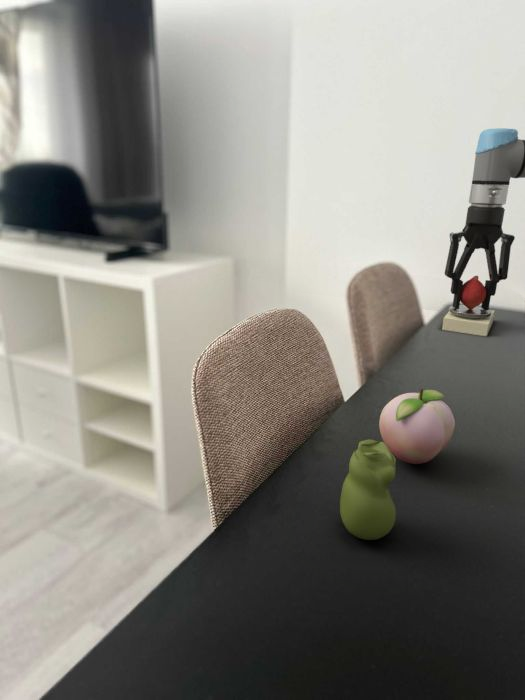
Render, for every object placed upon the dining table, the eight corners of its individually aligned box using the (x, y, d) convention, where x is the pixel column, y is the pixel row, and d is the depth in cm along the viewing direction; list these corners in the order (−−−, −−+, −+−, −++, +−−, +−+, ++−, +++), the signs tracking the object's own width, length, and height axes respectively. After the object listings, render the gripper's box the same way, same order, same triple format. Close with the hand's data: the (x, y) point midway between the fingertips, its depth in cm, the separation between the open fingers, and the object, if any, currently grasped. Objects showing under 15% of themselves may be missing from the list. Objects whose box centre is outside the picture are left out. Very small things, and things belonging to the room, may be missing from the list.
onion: (458, 311, 118) (463, 276, 115) (455, 305, 123) (460, 272, 120) (485, 313, 116) (491, 278, 114) (481, 307, 122) (486, 274, 119)
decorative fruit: (396, 437, 69) (404, 368, 66) (456, 459, 64) (468, 386, 61) (361, 465, 63) (368, 390, 59) (425, 491, 58) (436, 411, 54)
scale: (452, 316, 130) (454, 302, 129) (492, 322, 126) (495, 308, 125) (441, 330, 119) (444, 315, 117) (486, 337, 114) (489, 321, 113)
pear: (332, 516, 53) (339, 430, 50) (382, 514, 54) (392, 428, 50) (346, 553, 48) (354, 460, 45) (401, 551, 48) (413, 458, 45)
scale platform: (452, 306, 126) (452, 302, 125) (492, 311, 122) (493, 307, 121) (445, 314, 118) (446, 310, 118) (488, 320, 114) (489, 316, 114)
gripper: (446, 205, 109) (432, 310, 117) (538, 207, 108) (518, 314, 115) (438, 203, 116) (425, 302, 124) (524, 205, 115) (505, 306, 122)
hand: (470, 308), depth 119 cm, fingers closed on onion, 6 cm apart
